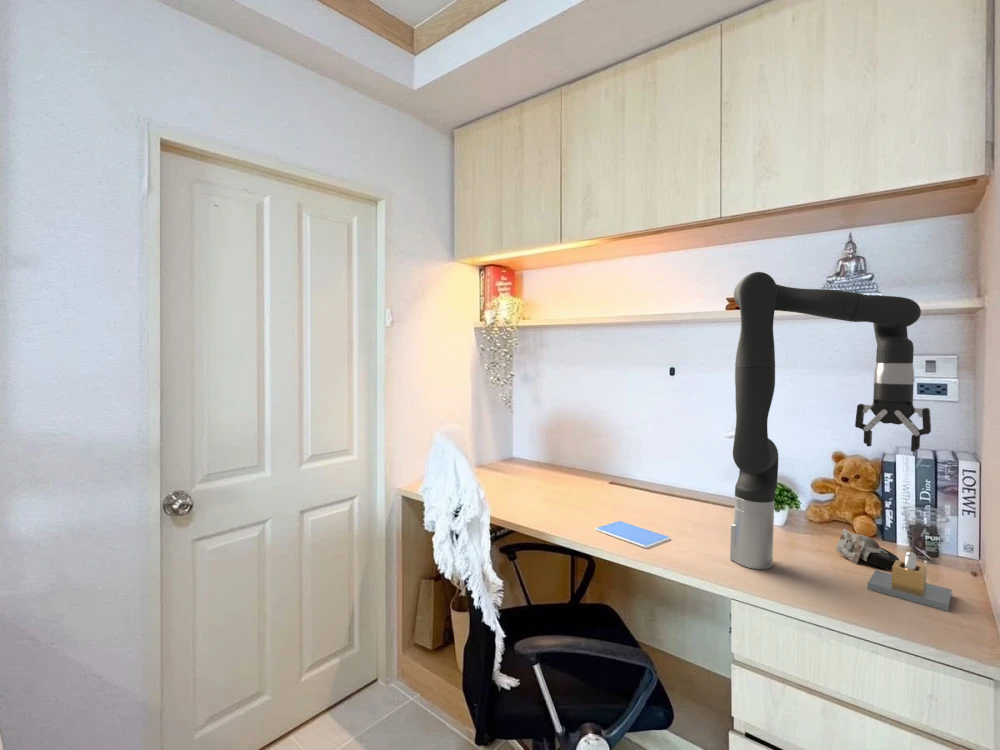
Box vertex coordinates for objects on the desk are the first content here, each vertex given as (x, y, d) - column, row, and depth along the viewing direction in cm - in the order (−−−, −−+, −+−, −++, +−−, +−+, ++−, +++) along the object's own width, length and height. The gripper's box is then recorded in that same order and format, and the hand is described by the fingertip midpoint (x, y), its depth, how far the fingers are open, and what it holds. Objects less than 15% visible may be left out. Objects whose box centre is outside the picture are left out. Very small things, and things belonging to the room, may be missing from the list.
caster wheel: (901, 578, 128) (870, 575, 126) (862, 552, 139) (833, 549, 136) (910, 555, 126) (879, 552, 124) (871, 531, 137) (842, 528, 135)
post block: (867, 588, 116) (869, 548, 116) (875, 576, 123) (876, 538, 123) (947, 611, 106) (949, 567, 106) (951, 595, 113) (953, 554, 113)
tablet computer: (593, 531, 154) (593, 527, 154) (619, 523, 162) (619, 519, 162) (646, 551, 139) (646, 546, 139) (672, 541, 146) (672, 536, 146)
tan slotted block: (891, 585, 114) (892, 566, 114) (895, 578, 118) (896, 559, 118) (923, 594, 110) (924, 574, 110) (926, 586, 114) (926, 567, 114)
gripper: (854, 381, 122) (852, 446, 123) (930, 383, 112) (927, 455, 113) (860, 380, 127) (858, 443, 128) (934, 382, 117) (931, 450, 118)
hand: (890, 448), depth 120 cm, fingers open, 8 cm apart
